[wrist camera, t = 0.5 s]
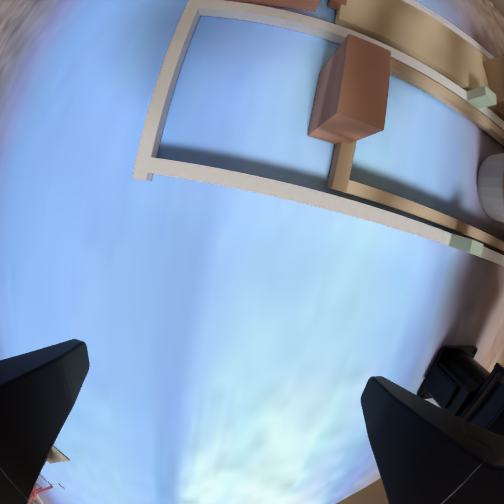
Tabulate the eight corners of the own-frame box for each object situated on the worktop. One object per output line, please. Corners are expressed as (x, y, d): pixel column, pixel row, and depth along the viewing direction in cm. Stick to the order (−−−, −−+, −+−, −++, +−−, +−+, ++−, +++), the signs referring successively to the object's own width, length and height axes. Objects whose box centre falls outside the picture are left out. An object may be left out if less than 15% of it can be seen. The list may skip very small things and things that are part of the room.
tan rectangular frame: (523, 157, 18) (561, 157, 12) (510, 254, 20) (549, 268, 14) (325, 41, 16) (352, -2, 10) (297, 180, 18) (324, 175, 12)
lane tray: (523, 91, 16) (543, 87, 12) (509, 273, 21) (532, 283, 17) (220, -49, 13) (218, -75, 9) (138, 178, 18) (115, 176, 14)
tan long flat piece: (518, 96, 16) (526, 94, 15) (521, 140, 17) (529, 139, 16) (331, -20, 14) (335, -28, 13) (324, 22, 15) (328, 14, 14)
